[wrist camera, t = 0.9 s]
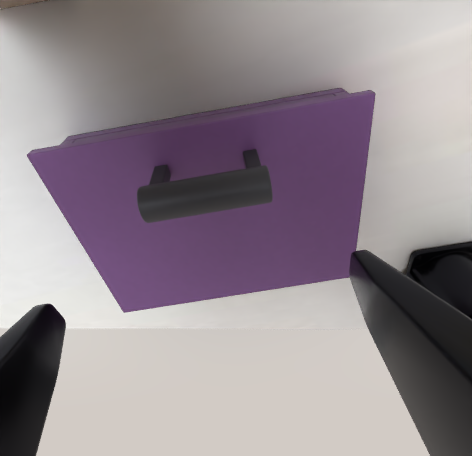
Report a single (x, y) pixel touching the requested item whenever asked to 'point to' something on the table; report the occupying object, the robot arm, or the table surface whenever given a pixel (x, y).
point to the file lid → (218, 201)
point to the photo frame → (16, 3)
